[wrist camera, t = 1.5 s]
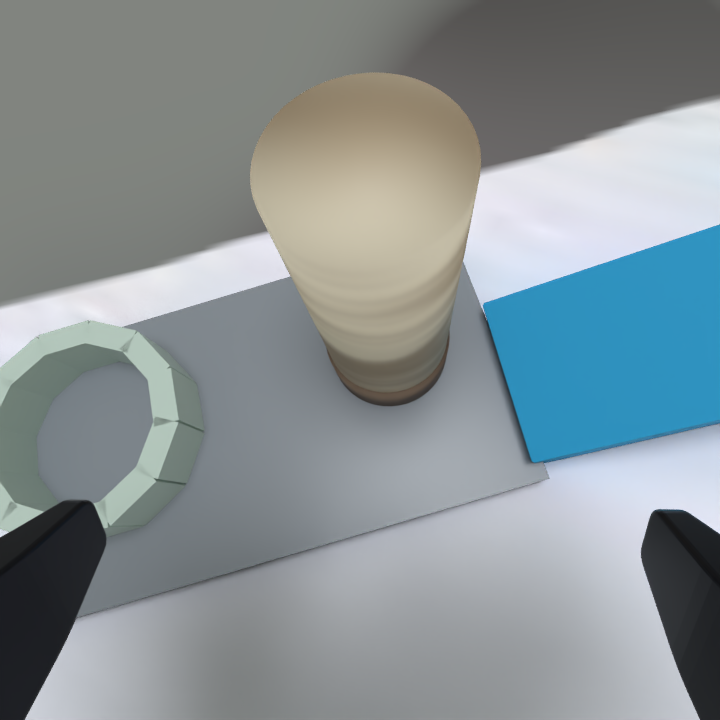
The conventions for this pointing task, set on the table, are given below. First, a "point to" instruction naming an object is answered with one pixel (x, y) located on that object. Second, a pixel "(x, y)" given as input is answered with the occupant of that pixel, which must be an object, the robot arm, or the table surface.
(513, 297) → the blue long block
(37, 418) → the thin grey base plate
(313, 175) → the birch peg
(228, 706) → the table surface
